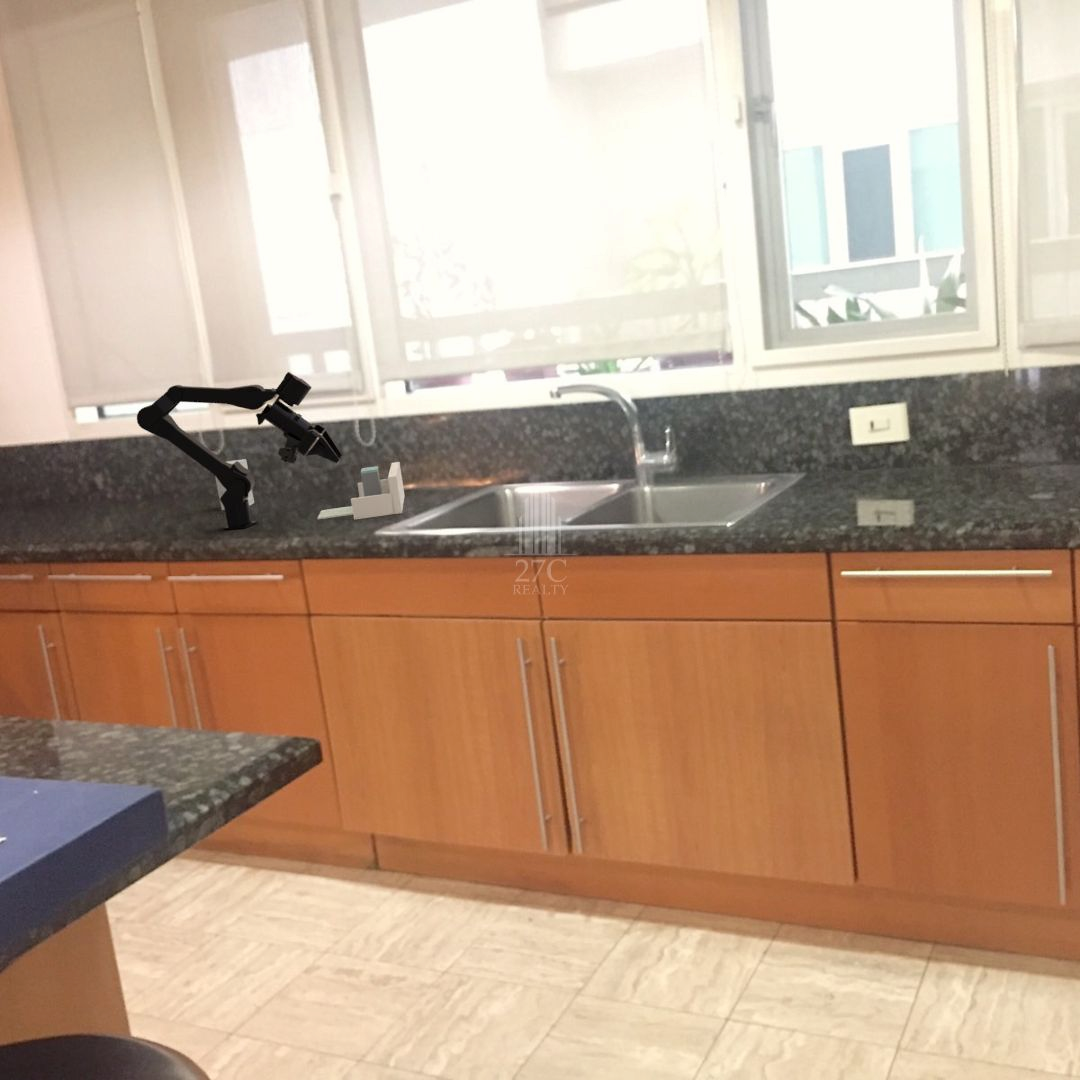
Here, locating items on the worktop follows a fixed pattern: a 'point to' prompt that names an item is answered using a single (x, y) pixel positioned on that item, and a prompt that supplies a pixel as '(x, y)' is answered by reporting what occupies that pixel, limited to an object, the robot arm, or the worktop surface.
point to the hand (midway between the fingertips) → (339, 459)
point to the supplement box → (222, 490)
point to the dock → (381, 497)
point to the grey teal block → (371, 481)
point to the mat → (335, 512)
